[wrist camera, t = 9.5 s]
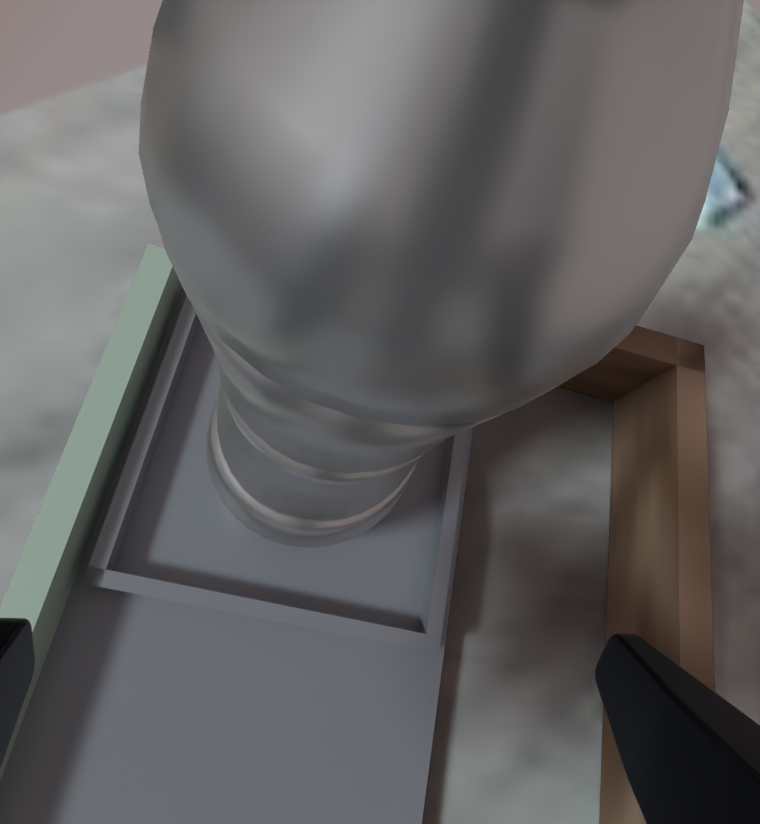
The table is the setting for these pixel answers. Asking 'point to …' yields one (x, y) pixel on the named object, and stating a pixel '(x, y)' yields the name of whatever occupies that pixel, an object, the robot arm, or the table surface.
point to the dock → (655, 517)
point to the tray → (217, 618)
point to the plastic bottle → (415, 217)
